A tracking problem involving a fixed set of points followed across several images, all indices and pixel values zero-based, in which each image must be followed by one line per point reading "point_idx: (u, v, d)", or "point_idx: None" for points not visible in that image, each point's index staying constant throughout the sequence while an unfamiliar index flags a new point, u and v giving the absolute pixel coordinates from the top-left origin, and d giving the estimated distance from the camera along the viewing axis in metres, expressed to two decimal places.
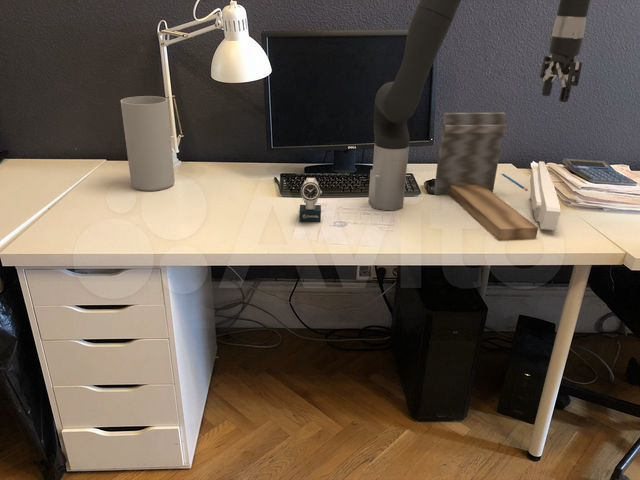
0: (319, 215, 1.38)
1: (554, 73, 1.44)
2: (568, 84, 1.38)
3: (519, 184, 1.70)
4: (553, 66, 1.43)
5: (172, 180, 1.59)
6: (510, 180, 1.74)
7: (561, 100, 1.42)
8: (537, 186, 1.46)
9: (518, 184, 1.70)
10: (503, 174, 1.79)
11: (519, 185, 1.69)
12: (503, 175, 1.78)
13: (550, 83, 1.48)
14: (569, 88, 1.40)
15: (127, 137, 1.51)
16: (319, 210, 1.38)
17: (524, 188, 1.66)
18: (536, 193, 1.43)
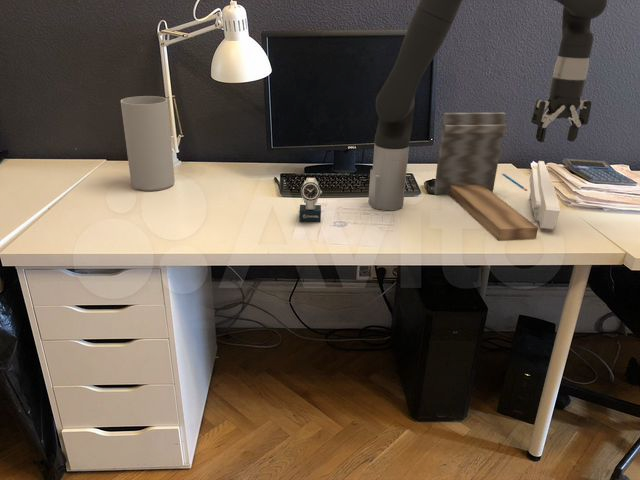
0: (319, 215, 1.38)
1: (560, 116, 1.34)
2: (586, 123, 1.36)
3: (519, 184, 1.70)
4: None
5: (172, 180, 1.59)
6: (510, 180, 1.74)
7: None
8: (537, 185, 1.46)
9: (518, 184, 1.70)
10: (503, 174, 1.79)
11: (519, 185, 1.69)
12: (503, 175, 1.78)
13: None
14: None
15: (127, 137, 1.51)
16: (319, 210, 1.38)
17: (523, 188, 1.66)
18: (536, 192, 1.43)
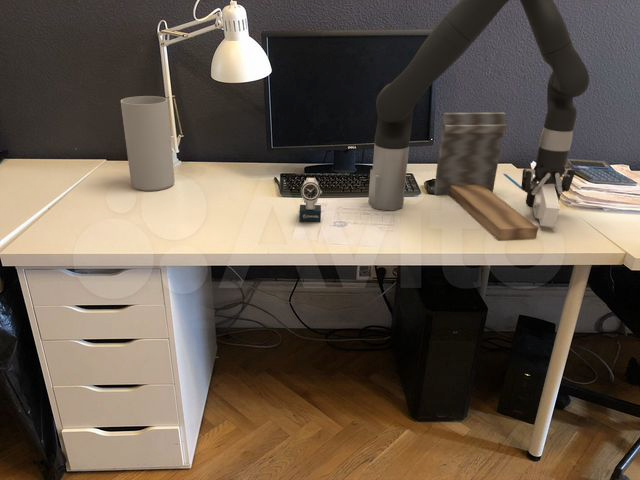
0: (319, 215, 1.38)
1: (548, 182, 1.42)
2: (567, 190, 1.44)
3: (518, 184, 1.70)
4: None
5: (172, 180, 1.59)
6: None
7: None
8: None
9: (517, 184, 1.70)
10: (505, 174, 1.79)
11: (518, 185, 1.69)
12: (505, 175, 1.78)
13: None
14: None
15: (127, 137, 1.51)
16: (319, 210, 1.38)
17: None
18: None
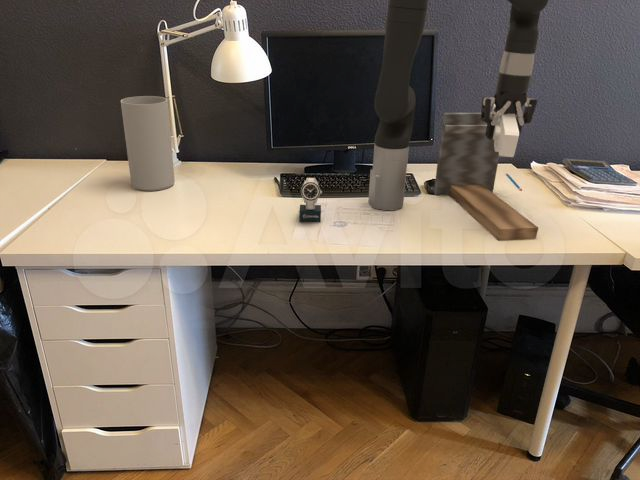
0: (319, 215, 1.38)
1: (508, 111, 1.34)
2: (529, 121, 1.36)
3: (516, 184, 1.70)
4: None
5: (172, 180, 1.59)
6: None
7: None
8: None
9: (515, 184, 1.70)
10: (507, 174, 1.79)
11: (516, 185, 1.69)
12: (506, 175, 1.78)
13: None
14: None
15: (127, 137, 1.51)
16: (319, 210, 1.38)
17: (519, 188, 1.66)
18: None
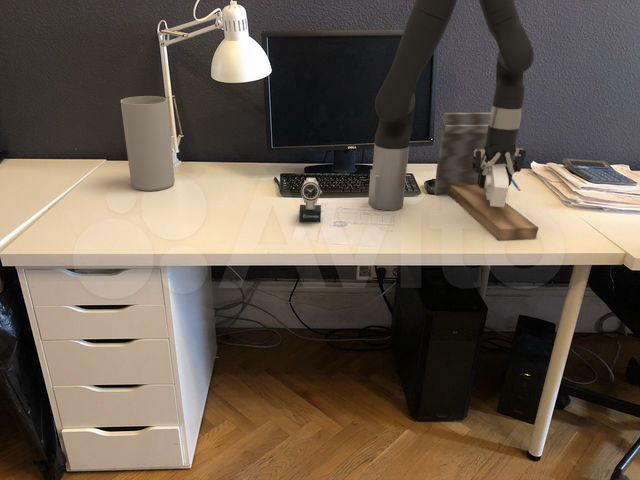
0: (319, 215, 1.38)
1: (498, 162, 1.39)
2: (519, 170, 1.41)
3: (516, 184, 1.70)
4: None
5: (172, 180, 1.59)
6: None
7: None
8: None
9: (515, 184, 1.70)
10: None
11: (515, 185, 1.69)
12: None
13: None
14: None
15: (127, 137, 1.51)
16: (319, 210, 1.38)
17: (517, 188, 1.66)
18: None
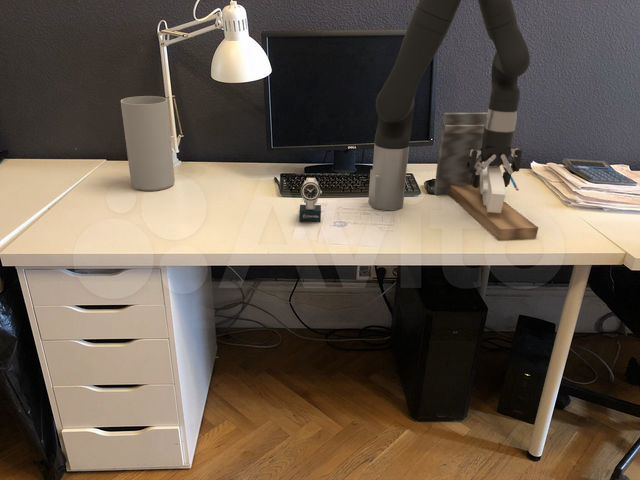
0: (319, 215, 1.38)
1: (492, 164, 1.41)
2: (518, 170, 1.43)
3: (515, 184, 1.70)
4: None
5: (172, 180, 1.59)
6: (511, 180, 1.74)
7: None
8: (485, 170, 1.47)
9: (514, 184, 1.70)
10: None
11: (514, 185, 1.69)
12: None
13: None
14: None
15: (127, 137, 1.51)
16: (319, 210, 1.38)
17: (516, 188, 1.66)
18: (484, 177, 1.44)
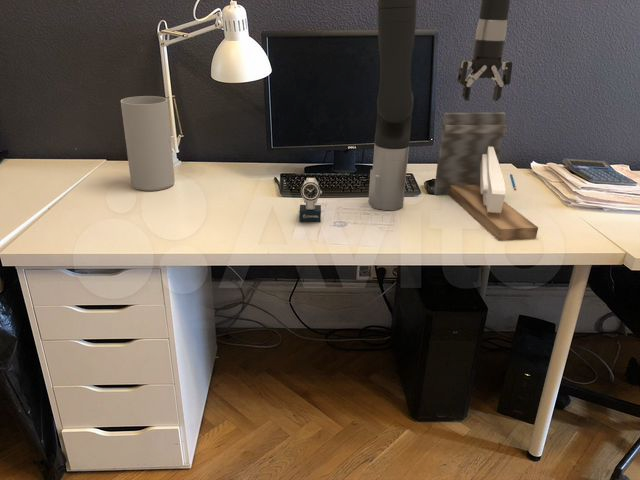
0: (319, 215, 1.38)
1: (483, 76, 1.45)
2: (508, 83, 1.46)
3: (514, 184, 1.70)
4: None
5: (172, 180, 1.59)
6: (511, 180, 1.74)
7: None
8: (485, 170, 1.47)
9: (513, 184, 1.70)
10: (510, 174, 1.79)
11: (513, 185, 1.69)
12: (510, 175, 1.78)
13: None
14: None
15: (127, 137, 1.51)
16: (319, 210, 1.38)
17: (514, 188, 1.67)
18: (484, 177, 1.44)
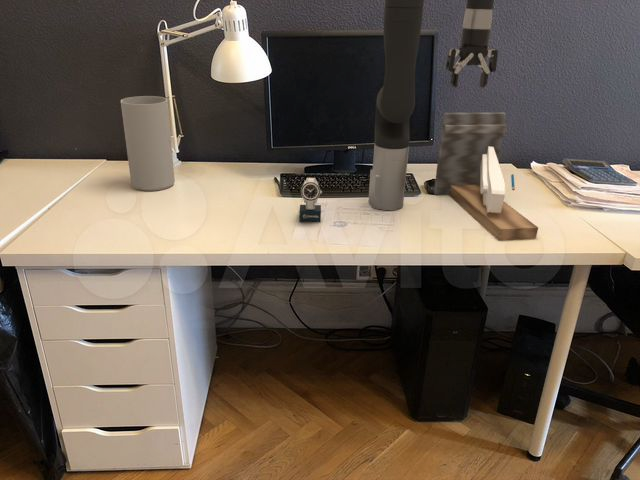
0: (319, 215, 1.38)
1: (470, 63, 1.51)
2: (494, 70, 1.53)
3: (513, 184, 1.70)
4: None
5: (172, 180, 1.59)
6: None
7: None
8: (485, 170, 1.47)
9: (512, 184, 1.70)
10: (512, 174, 1.79)
11: (512, 185, 1.69)
12: (511, 175, 1.78)
13: None
14: None
15: (127, 137, 1.51)
16: (319, 210, 1.38)
17: (512, 187, 1.67)
18: (484, 177, 1.44)
